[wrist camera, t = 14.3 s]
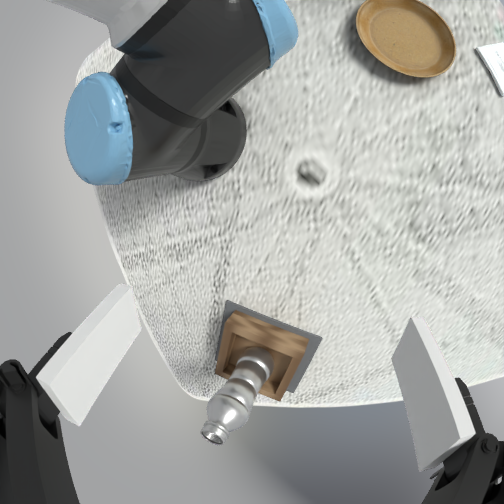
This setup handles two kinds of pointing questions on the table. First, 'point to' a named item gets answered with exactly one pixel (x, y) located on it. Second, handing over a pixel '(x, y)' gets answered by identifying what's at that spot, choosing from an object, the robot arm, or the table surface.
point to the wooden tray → (269, 338)
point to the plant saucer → (406, 36)
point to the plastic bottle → (237, 395)
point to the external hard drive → (494, 62)
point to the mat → (313, 339)
